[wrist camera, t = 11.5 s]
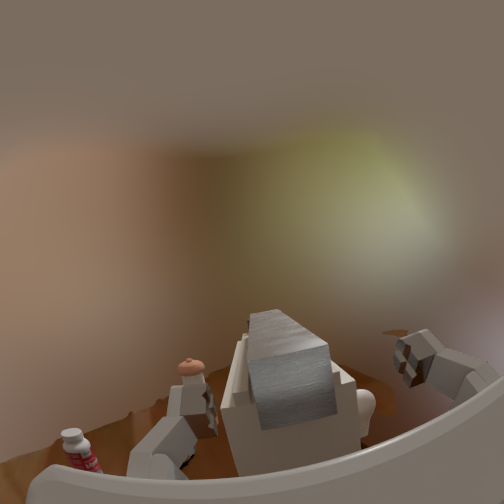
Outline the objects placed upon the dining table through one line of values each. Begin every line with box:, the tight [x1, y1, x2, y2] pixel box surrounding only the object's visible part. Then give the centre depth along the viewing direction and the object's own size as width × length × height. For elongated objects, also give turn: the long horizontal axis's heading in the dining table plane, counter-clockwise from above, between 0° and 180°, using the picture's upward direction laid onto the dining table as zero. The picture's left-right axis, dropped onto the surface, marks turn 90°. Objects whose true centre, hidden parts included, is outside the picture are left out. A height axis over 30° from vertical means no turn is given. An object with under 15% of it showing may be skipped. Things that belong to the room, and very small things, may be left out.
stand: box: [220, 319, 361, 477], centre depth 28 cm, size 27×9×29 cm, turn 0°
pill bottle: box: [61, 428, 103, 474], centre depth 36 cm, size 6×6×11 cm
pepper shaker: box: [177, 358, 218, 425], centre depth 65 cm, size 7×7×19 cm
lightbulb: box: [356, 389, 376, 438], centre depth 44 cm, size 6×6×11 cm
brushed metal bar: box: [247, 309, 338, 431], centre depth 27 cm, size 28×4×4 cm, turn 0°
